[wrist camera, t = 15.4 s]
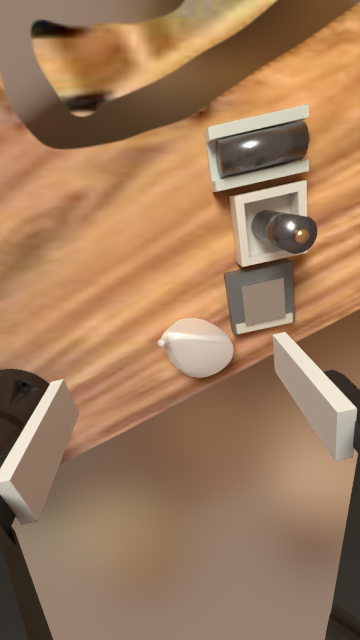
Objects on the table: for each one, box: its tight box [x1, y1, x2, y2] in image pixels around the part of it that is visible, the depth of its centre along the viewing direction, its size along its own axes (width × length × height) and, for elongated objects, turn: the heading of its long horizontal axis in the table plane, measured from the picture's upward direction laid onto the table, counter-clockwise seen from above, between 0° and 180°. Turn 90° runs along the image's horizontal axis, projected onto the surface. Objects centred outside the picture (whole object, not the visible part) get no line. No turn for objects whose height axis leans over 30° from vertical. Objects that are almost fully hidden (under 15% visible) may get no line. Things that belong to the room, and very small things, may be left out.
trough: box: [204, 104, 309, 192], centre depth 38 cm, size 13×8×3 cm, turn 102°
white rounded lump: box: [158, 318, 234, 378], centre depth 47 cm, size 10×11×12 cm
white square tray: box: [229, 180, 307, 267], centre depth 42 cm, size 10×10×4 cm
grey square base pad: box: [224, 259, 295, 335], centre depth 47 cm, size 11×11×2 cm
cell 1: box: [216, 121, 309, 177], centre depth 36 cm, size 12×4×4 cm, turn 102°
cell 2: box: [251, 210, 317, 254], centre depth 37 cm, size 4×4×12 cm
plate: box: [240, 276, 286, 325], centre depth 46 cm, size 7×7×1 cm
